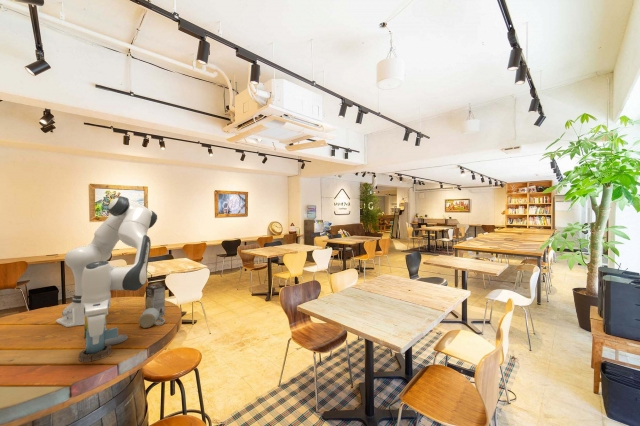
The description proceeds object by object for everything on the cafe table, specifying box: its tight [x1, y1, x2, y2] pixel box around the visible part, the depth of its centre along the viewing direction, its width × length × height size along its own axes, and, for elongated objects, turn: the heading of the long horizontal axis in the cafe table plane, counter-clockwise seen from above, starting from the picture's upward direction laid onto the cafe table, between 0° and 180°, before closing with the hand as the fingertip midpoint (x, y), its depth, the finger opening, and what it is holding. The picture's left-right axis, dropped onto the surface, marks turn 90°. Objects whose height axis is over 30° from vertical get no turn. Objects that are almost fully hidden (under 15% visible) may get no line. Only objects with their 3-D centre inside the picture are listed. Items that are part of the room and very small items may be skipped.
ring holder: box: [78, 344, 112, 363], centre depth 102 cm, size 9×9×2 cm
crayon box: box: [84, 313, 108, 339], centre depth 120 cm, size 7×3×12 cm, turn 152°
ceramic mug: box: [138, 308, 166, 329], centre depth 132 cm, size 11×8×8 cm
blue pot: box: [85, 326, 119, 355], centre depth 103 cm, size 10×6×8 cm, turn 131°
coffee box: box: [144, 283, 166, 318], centre depth 145 cm, size 9×6×16 cm
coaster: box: [105, 334, 129, 346], centre depth 114 cm, size 9×9×1 cm
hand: (95, 340), depth 102 cm, fingers closed on blue pot, 6 cm apart
